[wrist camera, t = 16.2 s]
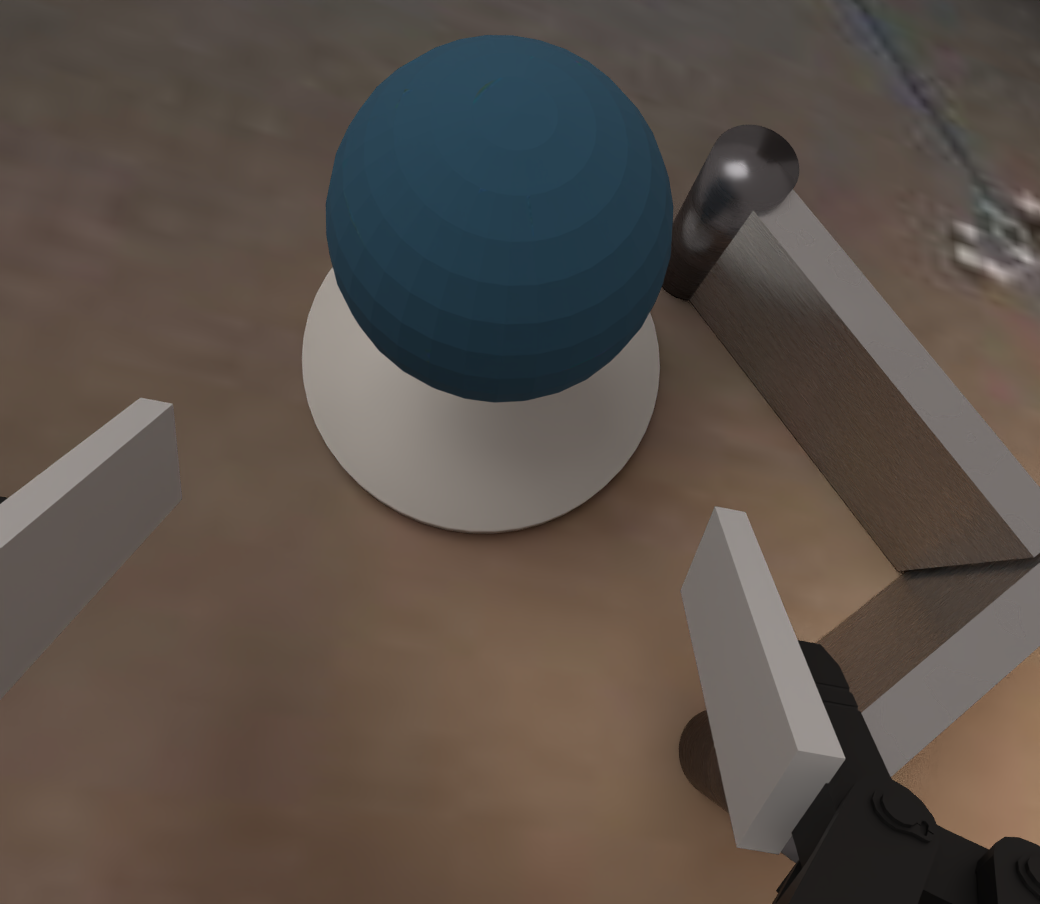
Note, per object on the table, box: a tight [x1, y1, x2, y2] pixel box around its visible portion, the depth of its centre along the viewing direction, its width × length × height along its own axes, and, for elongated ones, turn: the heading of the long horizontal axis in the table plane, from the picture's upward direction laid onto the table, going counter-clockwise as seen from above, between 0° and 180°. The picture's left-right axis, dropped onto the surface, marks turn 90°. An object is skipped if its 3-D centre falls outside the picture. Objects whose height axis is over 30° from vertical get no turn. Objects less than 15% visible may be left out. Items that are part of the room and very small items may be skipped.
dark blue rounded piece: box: [326, 35, 673, 403], centre depth 18 cm, size 8×8×12 cm
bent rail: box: [662, 125, 1040, 863], centre depth 21 cm, size 18×13×6 cm
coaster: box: [302, 267, 660, 534], centre depth 24 cm, size 13×13×1 cm
